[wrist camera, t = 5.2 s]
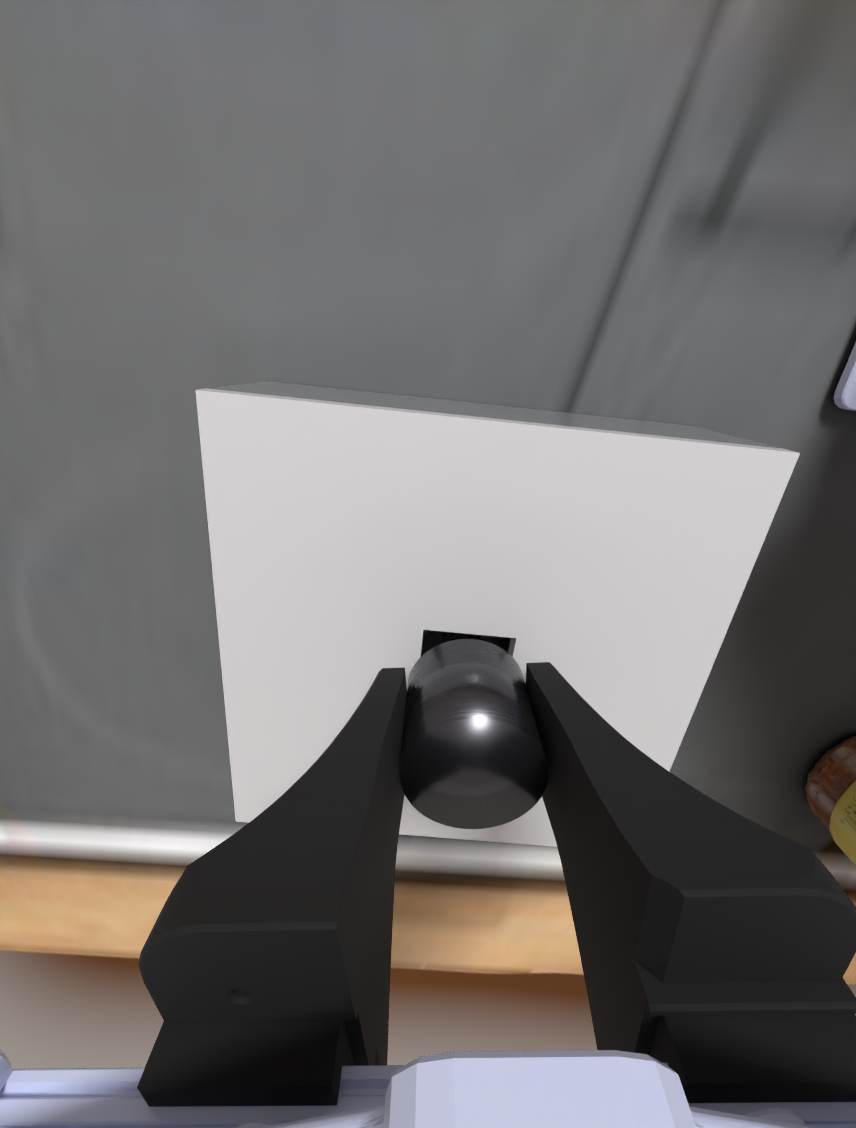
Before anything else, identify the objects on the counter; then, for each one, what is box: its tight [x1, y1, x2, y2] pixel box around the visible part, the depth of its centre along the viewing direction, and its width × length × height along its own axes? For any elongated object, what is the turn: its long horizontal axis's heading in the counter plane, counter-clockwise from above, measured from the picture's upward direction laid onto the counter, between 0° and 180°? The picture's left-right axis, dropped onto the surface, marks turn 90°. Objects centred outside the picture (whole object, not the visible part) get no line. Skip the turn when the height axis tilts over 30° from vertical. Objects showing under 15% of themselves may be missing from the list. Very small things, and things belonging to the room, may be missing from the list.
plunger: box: [400, 630, 549, 829], centre depth 14 cm, size 11×11×8 cm
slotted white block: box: [196, 381, 800, 847], centre depth 16 cm, size 14×14×5 cm
